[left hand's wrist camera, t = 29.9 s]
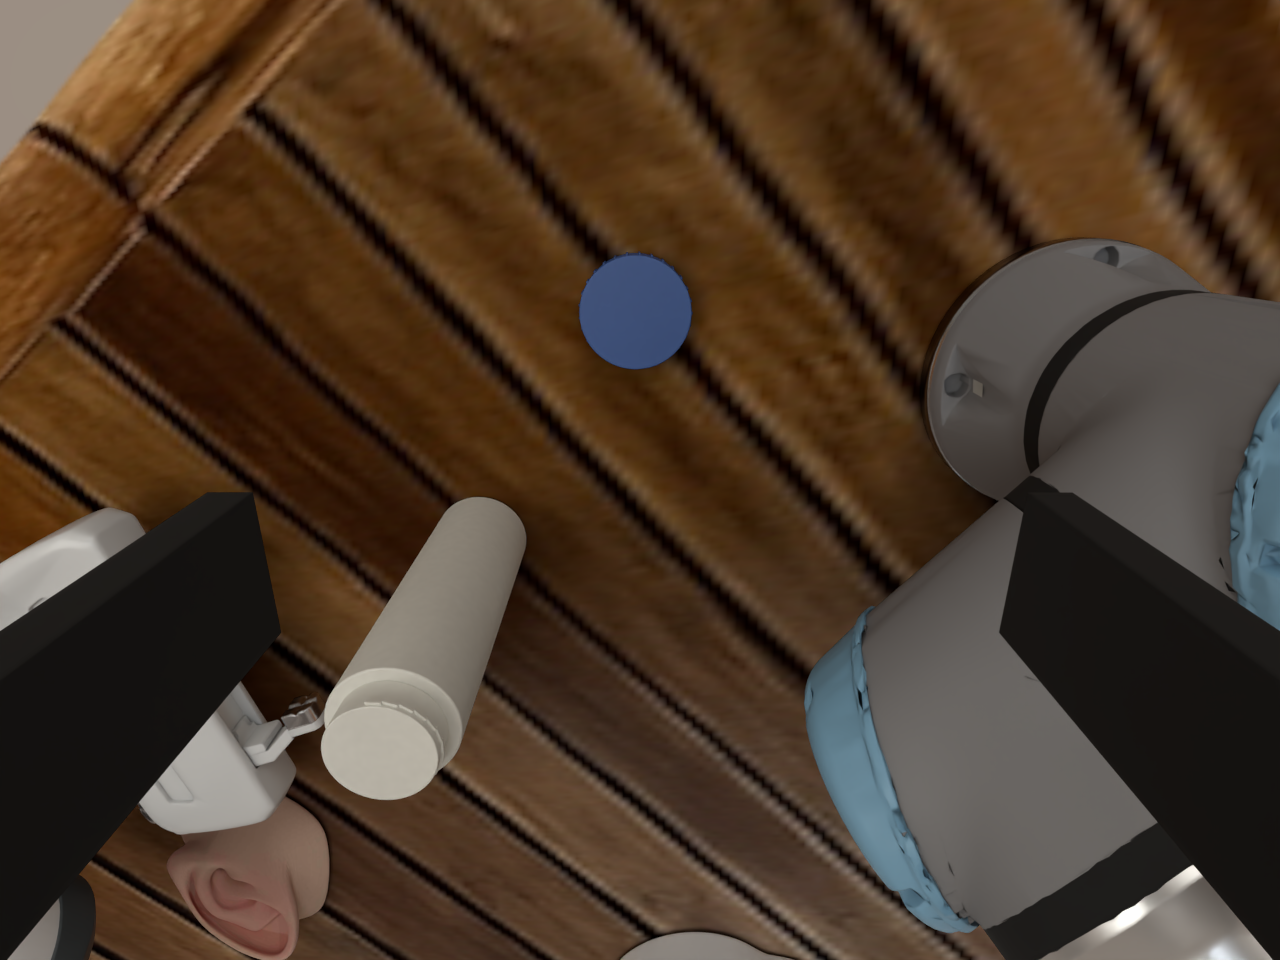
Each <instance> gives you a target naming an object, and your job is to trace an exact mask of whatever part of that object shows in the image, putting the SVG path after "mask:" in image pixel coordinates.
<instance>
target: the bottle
mask: <svg viewBox="0 0 1280 960" xmlns="http://www.w3.org/2000/svg"><path fill="white" fill-rule="evenodd" d="M525 548H526V532H525V529H524V526H523V524H522V522H521V520H520V518H519V517H518V516H517V514H516V513H515V512H514V511H513V510H512V509H511V508H509V507H508V506H507V505H505V504H503V503H501V502H499V501H497V500H494V499H491V498H485V497H472V498H467V499H464V500H461V501H459V502H457V503H455V504H454V505H452V506H451V507H450V508H449V509H448V510H447V511H446V512H445V513H444V515H443V517H442V518H441V520H440V521H439V523H438V524H437V526H436V528H435V529H434V531H433V532H432V534H431V536H430V537H429V539H428V540H427V542H426V543H425V545H424V547H423V548H422V550H421V551H420V553H419V555H418V556H417V558H416V559H415V561H414V562H413V564H412V566H411V567H410V569H409V570H408V572H407V574H406V575H405V577H404V578H403V580H402V581H401V583H400V585H399V586H398V588H397V589H396V591H395V593H394V594H393V596H392V597H391V599H390V600H389V602H388V604H387V605H386V607H385V608H384V610H383V612H382V613H381V615H380V616H379V618H378V619H377V621H376V623H375V624H374V626H373V627H372V629H371V631H370V632H369V634H368V635H367V637H366V638H365V640H364V642H363V643H362V645H361V646H360V648H359V650H358V651H357V653H356V654H355V656H354V657H353V659H352V661H351V662H350V664H349V665H348V667H347V669H346V670H345V672H344V673H343V675H342V676H341V678H340V680H339V681H338V683H337V684H336V686H335V688H334V689H333V691H332V692H331V694H330V696H329V698H328V700H327V702H326V706H325V711H324V722H325V728H326V730H325V732H324V734H323V737H322V742H321V752H322V757H323V761H324V763H325V765H326V767H327V769H328V771H329V772H330V774H331V775H332V776H333V777H334V778H335V779H336V780H337V781H338V782H339V783H340V784H341V785H343V786H344V787H346V788H347V789H349V790H350V791H352V792H354V793H357V794H359V795H362V796H365V797H368V798H372V799H379V800H395V799H401V798H405V797H408V796H411V795H413V794H415V793H417V792H419V791H420V790H422V789H423V788H424V787H426V786H427V785H428V784H429V783H430V781H431V780H432V779H433V777H434V775H436V774H437V772H438V770H440V769H441V768H442V767H444V766H445V765H446V764H447V763H448V762H449V761H450V760H451V759H452V758H453V757H454V755H455V754H456V753H457V751H458V749H459V747H460V744H461V741H462V738H463V735H464V732H465V729H466V726H467V723H468V720H469V717H470V714H471V711H472V708H473V705H474V702H475V699H476V696H477V693H478V690H479V687H480V684H481V681H482V678H483V675H484V672H485V669H486V666H487V663H488V660H489V657H490V654H491V651H492V648H493V645H494V642H495V639H496V636H497V633H498V630H499V627H500V624H501V621H502V618H503V615H504V612H505V609H506V606H507V603H508V600H509V597H510V594H511V591H512V588H513V585H514V581H515V578H516V575H517V572H518V569H519V566H520V563H521V560H522V557H523V554H524V551H525Z"/></svg>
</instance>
